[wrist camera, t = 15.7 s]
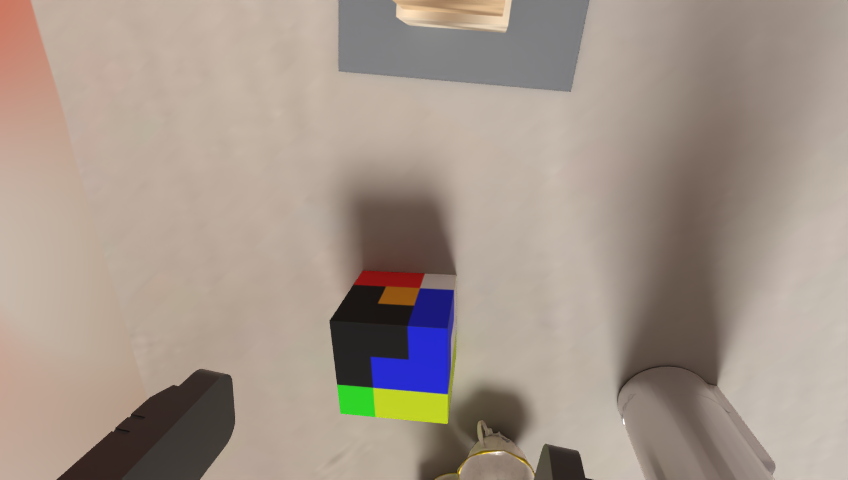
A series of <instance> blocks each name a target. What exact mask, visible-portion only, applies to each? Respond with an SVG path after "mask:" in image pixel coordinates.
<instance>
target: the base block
mask: <svg viewBox="0 0 848 480" xmlns="http://www.w3.org/2000/svg"><path fill="white" fill-rule="evenodd" d="M511 2H512V0H505V6H504V11H503V16H502V17H499V16H486V15H473V14H459V13H446V12H432V11H419V10H405V9H402V8H401V7H400V6H399V5H398V4H397V6H396V17H397V18H399V19H400V20H401V21H403V22H404V23H406V24H407V25H411V26H424V27H437V28H450V29H463V30H476V31H489V32H503V33H506V30H507V27H508V23H509V16H510V9H511Z"/></svg>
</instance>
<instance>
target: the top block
mask: <svg viewBox="0 0 848 480" xmlns="http://www.w3.org/2000/svg"><path fill="white" fill-rule="evenodd" d="M393 1H394V2H395V3H396V4H398V5H399V6H400V7H401V8H402V9H405V10H419V11H432V12H446V13H459V14H473V15H486V16H499V17H502V16H503V11H504V6H505V0H393Z"/></svg>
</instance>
